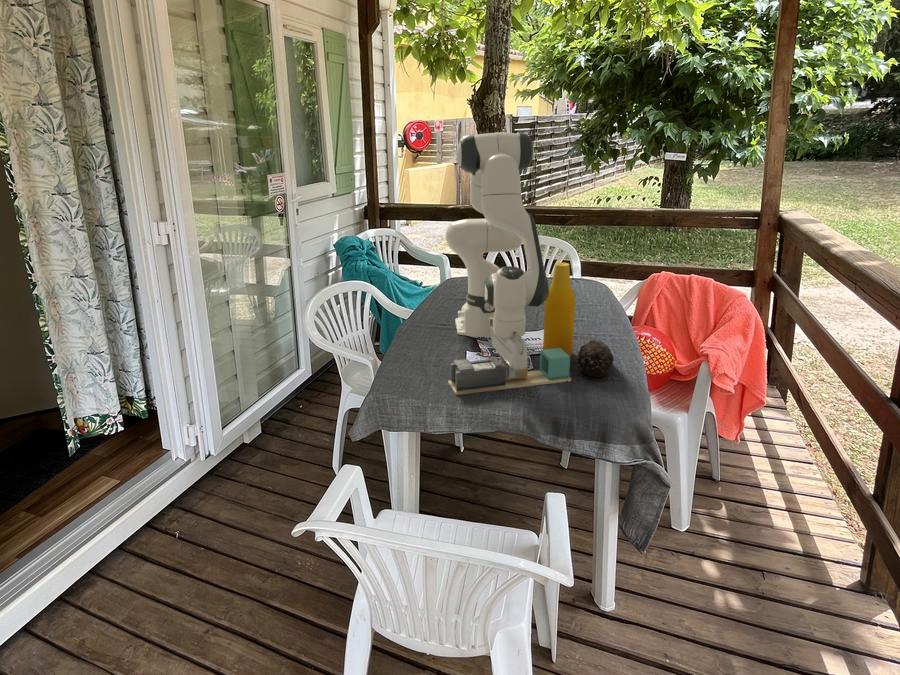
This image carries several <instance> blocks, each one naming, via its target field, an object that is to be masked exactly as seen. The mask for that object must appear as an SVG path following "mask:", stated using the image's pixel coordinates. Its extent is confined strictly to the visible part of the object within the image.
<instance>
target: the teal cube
mask: <svg viewBox="0 0 900 675" xmlns="http://www.w3.org/2000/svg"><path fill="white" fill-rule="evenodd" d="M539 358H540V360H539V370H540V372H541V373H542V374H543V375H544V376H545V377H546V378H547V379H548V380H556V379H565V378H569V377H570V365H571V356H569V355H568V354H567V353H565V352H564V351H563V350H562V349H561V348H553V349H544V350H543V349H540V357H539Z"/></svg>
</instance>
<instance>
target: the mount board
mask: <svg viewBox="0 0 900 675" xmlns="http://www.w3.org/2000/svg"><path fill="white" fill-rule="evenodd" d="M566 381H568V382H571V381H572V378H571V377H570V376H569V378H565V379H556V380H548V379H547V378H546V377H545V376H544V375H543V374H542V373H541V372H540V369H539V370H529V371H528V375H527V377H525V378H515V379H506V380H505V386H496V387H488V388H479V389H471V390H462V391H456V389H455V388H454V386H453V385H452V383H451V381H450V379H449V380H448V381H447V383H448V384H447V385H449V387H450V389H451V390H452V392H453V394H454V395H455V396H457V395H458V396H459V395H466V394H474V393H475V394H476V393H483V392H490V391H491V392H492V391H500V390H509V389H517V388H525V387H534V386H541V385H549V384H551V385H552V384H558V382H559V383H566Z"/></svg>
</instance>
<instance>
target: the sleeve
mask: <svg viewBox="0 0 900 675" xmlns="http://www.w3.org/2000/svg"><path fill="white" fill-rule="evenodd" d="M499 361H500V358H497V357H496V356H495V355H494V356H493V355H491V356H488V357H487V359H481V360H480V359H479V360H472V361H471V360H469V359H468V358H467V359H465V358H464V359H455V360H453V363H449V366H450V367H449V368H450V371H449V372H450V373H449V376H450V377H449V378H450V379H449V380H450V381H451V383H452V385H453V386H454V388H455V389H456V391H462V390H471V389H479V388H488V387H496V386H505V378H506V367H505V366H502V364H501V363H500V362H499ZM488 362H490V363H491V364H492V365H493V366H494V367H492V368H483V369H474V367H473V366H472V365H471V364H479V363H488ZM455 366H456V367H457V369H458V370H459V371H456V380H455Z"/></svg>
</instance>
